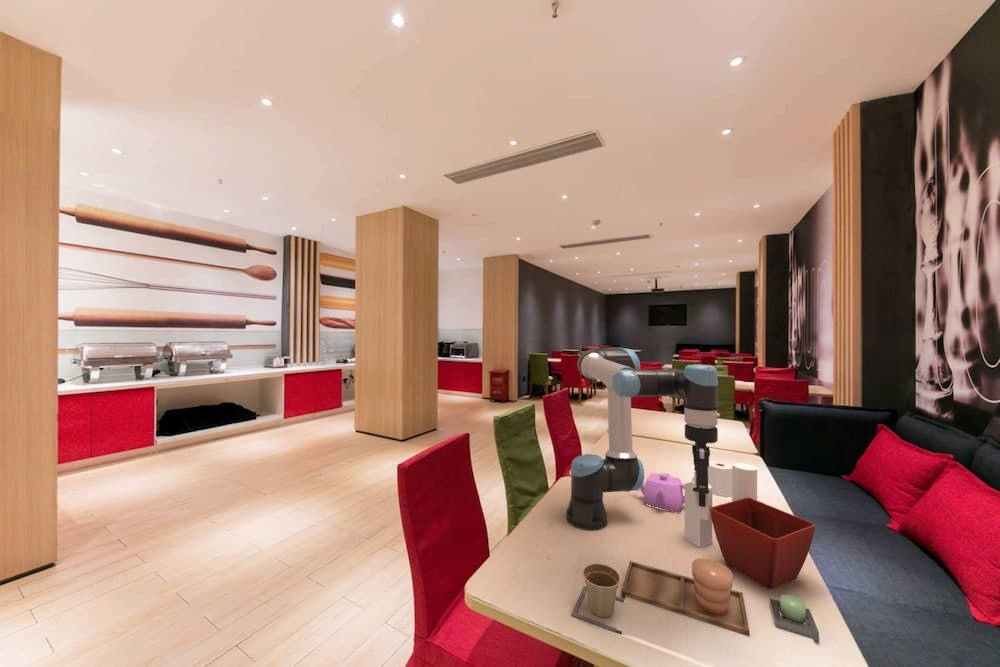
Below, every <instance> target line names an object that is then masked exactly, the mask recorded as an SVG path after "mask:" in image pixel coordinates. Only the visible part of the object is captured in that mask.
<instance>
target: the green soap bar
mask: <svg viewBox="0 0 1000 667" xmlns="http://www.w3.org/2000/svg"><path fill="white" fill-rule="evenodd" d="M779 601H780V611H779V612H780V615H781V616H783V617H784V619H788V620H791V621H794V622H798V623H801V624H805V623H806V622H805V621H806V608H807V607H806V604H805V602H804V601H802V600H801V599H800V598H798V597H796V596H793V595H790V594H782V595H780V600H779Z"/></svg>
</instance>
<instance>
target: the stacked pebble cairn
mask: <svg viewBox="0 0 1000 667" xmlns="http://www.w3.org/2000/svg"><path fill="white" fill-rule="evenodd" d="M691 562H692V563H691V575H692V577H693V579H694V589H695V592H696V602H697V604H698V605H699V606H700V607H701V608H702V609H703V610H705V611H707V612H709V613H712V614H715V615H724V614H726V613H727V612H728V602H729V601H730V589H732V588H733V584H734V583H733V580H734V579H733V576H734V575H733V572H732V571H731V570H730V569H731V568H730V567H728V566H727V565H725V564H723V563H721V562H719V561H716V560H713V559H709V558H696V559H694V560H693V561H691ZM729 568H730V569H729Z"/></svg>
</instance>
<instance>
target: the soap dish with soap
mask: <svg viewBox="0 0 1000 667" xmlns="http://www.w3.org/2000/svg"><path fill="white" fill-rule="evenodd" d="M769 608H770V612H771V615H772V616H771V617H772V619H773V622H774V626H775V627H776V628H778V629H782V630H785V631H788V632H791V633H795V634H798V635H801V636H805V637H808V638H811V639H813V642H814V643H816V642H817V644H820V631H819V629H818V626H817V625H816V622H815V619H814V617H813V615H812V612H811V609H810V608H807V607H806V621H805V622H804V623H798V622H794V621H791V620H789V619H787V618H785V617H784V618H783V617H782V614H781V612H780V600H779V599H778V600H777V599H774V598H771V597H770V598H769ZM805 623H806V624H805Z"/></svg>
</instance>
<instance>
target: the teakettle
mask: <svg viewBox="0 0 1000 667" xmlns="http://www.w3.org/2000/svg"><path fill="white" fill-rule="evenodd" d="M685 484H686V483H682V481H681V479H680V478H678V477H674V476H671V474H669V473H654V472H653V473H652V472H651V473H649V474H648V477H647V478H646V480H645V481H643V484H642V486H641V487H640V488H639V489H640V491H641V493H642V495H643V503H644V505H645V504H648V505H651V506H654V507H658V508H661V509H665V510H668V511H667V512H669V511H673V512H672V513H674V512H679V511H680V512H681V509H682V507H683V504H685V495H684V490H685ZM680 512H679V513H680Z"/></svg>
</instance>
